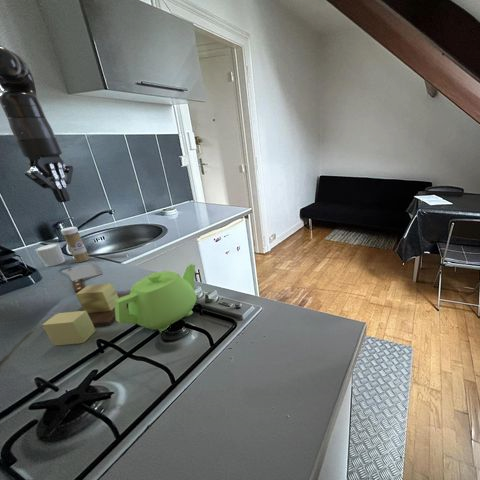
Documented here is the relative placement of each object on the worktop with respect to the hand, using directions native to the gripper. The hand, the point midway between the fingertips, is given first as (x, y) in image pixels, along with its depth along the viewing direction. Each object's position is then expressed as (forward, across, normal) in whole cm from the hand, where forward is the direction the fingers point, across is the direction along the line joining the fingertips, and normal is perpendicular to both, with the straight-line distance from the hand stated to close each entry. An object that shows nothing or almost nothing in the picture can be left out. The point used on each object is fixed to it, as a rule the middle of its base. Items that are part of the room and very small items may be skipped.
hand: (64, 201), depth 75 cm
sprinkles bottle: (+27, -20, -20) cm, 39 cm away
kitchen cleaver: (+27, -4, -8) cm, 29 cm away
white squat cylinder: (+27, -19, -30) cm, 44 cm away
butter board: (+27, +17, +13) cm, 35 cm away
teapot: (+27, +23, +32) cm, 48 cm away
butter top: (+21, +27, +13) cm, 37 cm away
